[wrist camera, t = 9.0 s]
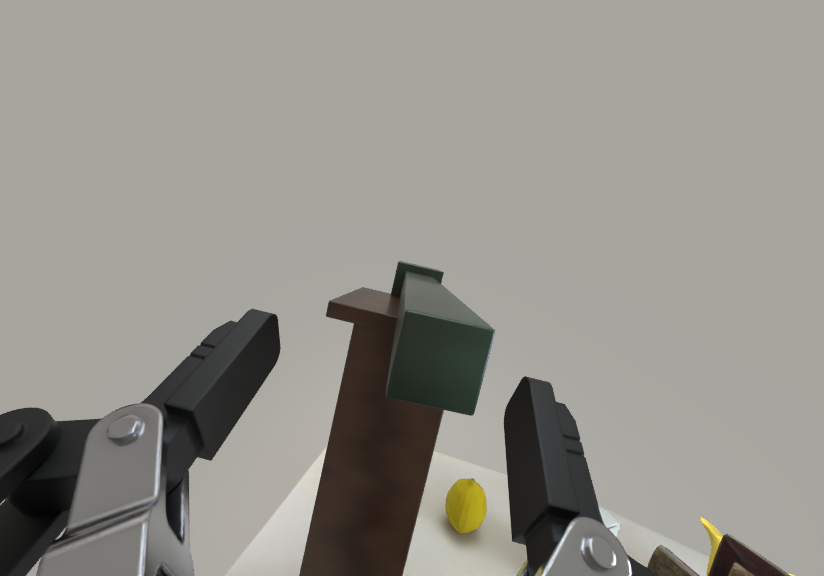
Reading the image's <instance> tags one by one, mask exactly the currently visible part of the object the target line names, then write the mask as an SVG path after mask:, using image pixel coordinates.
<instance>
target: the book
mask: <svg viewBox="0 0 824 576" xmlns="http://www.w3.org/2000/svg"><path fill="white" fill-rule="evenodd" d="M648 569H649V570H651V571H652V572H654V573H656V574H657V575H659V576H699V575H698V574H697V573H696V572H694V571H693V570H692V569H691V568H690V567H689V566H687V565H686V564H685V563H684V562H683V561H681V560H680V559H679V558H678V557H677V556H676V555H674V554H673V553H672V552H671V551H670V550H668V549H667V548H665V547H663V546H662V545H660V546H658V547H657V548H656V549H655V550H654V552H653V555H652V557H651V559H650V562H649V564H648ZM708 576H790V575H789V574H787V573H786V572H785V571H783V570H782V569H780V568H779V567H777V566H776V565H774V564H773V563H771V562H770V561H768V560H767V559H766V558H764V557H763V556H761V555H760V554H758V553H757V552H755V551H754V550H752V549H750V548H749V547H748V546H746V545H745V544H743V543H742V542H740V541H738V540H737V539H735V538H734V537H732V536H731V535H728V534H726V535H724V536H723V537H722V539H721V541H720V544H719V547H718V549H717V552H716V555H715V557H714V560H713V563H712V566H711V569H710V572H709V575H708Z"/></svg>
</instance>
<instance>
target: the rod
mask: <svg viewBox="0 0 824 576" xmlns="http://www.w3.org/2000/svg"><path fill="white" fill-rule="evenodd" d="M443 273H444V272H442V271H440V270H437V269H432V268H428V267H424V266H420V265H415V264H411V263H406V262H402V261H399V262H398V265H397V270H396V274H395V279H394V283H393V288H392V292H391V296H394V297H399V298H400V300H399V306H398V313H397V320H396V327H395V333H394V340H393V347H392V353H391V360H390V367H389V373H388V380H387V387H386V397H388V398H391V399H396V400H400V401H405V402H410V403H414V404H419V405H424V406H429V407H433V408H438V409H443V410H448V411H452V412H457V413H461V414H466V415H473V414H474V412H475V408H476V404H477V400H478V396H479V393H480V389H481V385H482V381H483V377H484V373H485V369H486V366H487V362H488V358H489V354H490V350H491V346H492V343H493V339H494V335H495V330H494V329H493V328H492V327H491V326H490V325H488V324H487V323H486V322H485V321H484V320H483V319H481V318H480V317H479V316H478V315H477V314H476V313H474V312H473V311H472V310H471V309H469V308H468V307H467V306H466V305H465V304H463V303H462V302H461V301H460V300H459V299H458V298H457V297H455V296H454V295H453V294H452V293H451V292H450V291H448V290H447V289H446V288H445V287H444V286H443V285H441V282H442V278H443Z"/></svg>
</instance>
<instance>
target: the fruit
mask: <svg viewBox="0 0 824 576" xmlns="http://www.w3.org/2000/svg"><path fill="white" fill-rule="evenodd" d="M486 510H487V507H486V496H485V493H484V491H483V489H482V487H481V486H480V485H479V484H478V483H476V482H475V480H474V479H460V480H458V481H457V482H456V483H455V484H454V485H453V486H452V487H451V489H450V490H449V492H448V494H447V498H446V513H447V516H448V519H449V521H450V523H451V524H452V525H453V527H454V528H455V530H456V531H457V532H458V533H459V534H464V533H468V532H472V531H474V530H475V529H477V528H478V527H479V526H480V525H481V524H482V522H483V520H484V518H485V516H486Z"/></svg>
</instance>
